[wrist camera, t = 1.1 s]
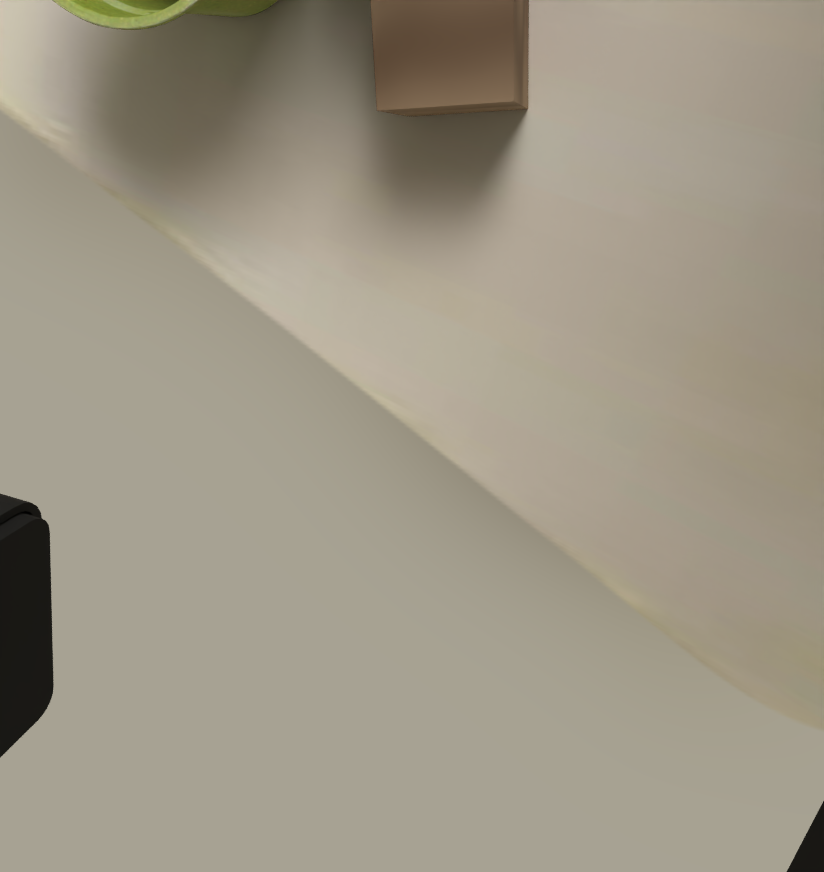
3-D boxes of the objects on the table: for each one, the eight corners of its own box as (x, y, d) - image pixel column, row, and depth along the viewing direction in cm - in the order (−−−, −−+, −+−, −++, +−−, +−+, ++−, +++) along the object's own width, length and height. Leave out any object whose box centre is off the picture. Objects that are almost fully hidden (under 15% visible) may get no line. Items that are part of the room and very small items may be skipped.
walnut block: (404, -18, 31) (367, -48, 26) (528, -32, 29) (513, -66, 25) (410, 116, 32) (376, 110, 28) (528, 108, 31) (513, 101, 27)
